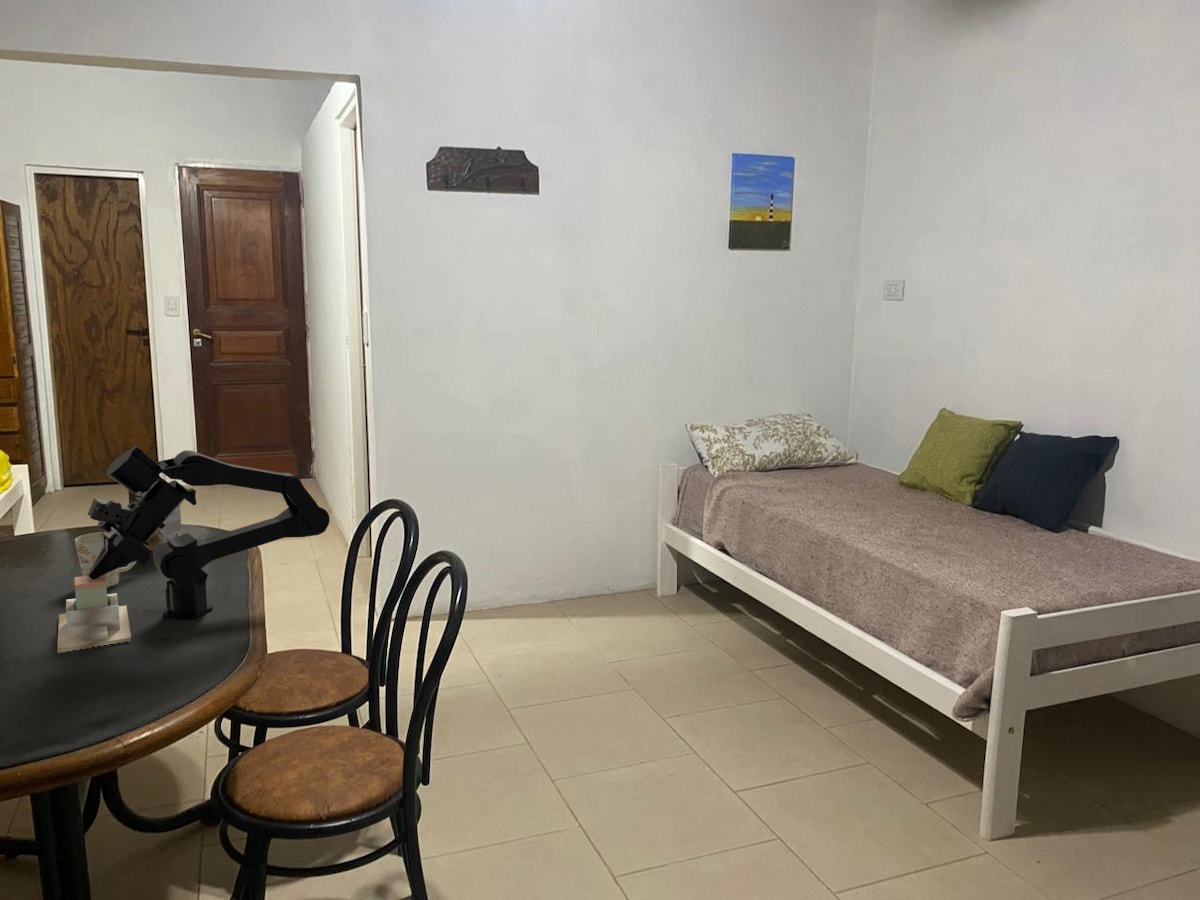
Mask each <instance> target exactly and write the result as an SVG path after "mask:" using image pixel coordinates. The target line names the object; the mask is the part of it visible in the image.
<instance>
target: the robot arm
mask: <svg viewBox="0 0 1200 900" xmlns="http://www.w3.org/2000/svg"><path fill="white" fill-rule="evenodd" d="M160 474H163V475H165V476H166V477H167V478H168V479H170V480H171V481H169V482H168V481H167V480H165V479H164V478H162V477H161V476H160ZM106 475H107V476H108V477H110V478H111V479H113V480H114V481H115V482H117V483H118V484H120V485H121V486H122V487H124V488H125V489H127V491H128V490H129V491H131V492H132V493H137V492H139V491H140V492H141V493H144V492H146V491H147V490H148V489H149V490H148V492H147V493H146V494H145V495H144V496H143V497H142V498H141V499H140V500H139V501H138V502H137V503H136V502H135V501H134V502H131V503H130V504H129V503H128V505H122V504H121V502H115V501H113V500H106V499H102V498H98V497H94V498H93V499H92V503H91V506H90V507H89V510H88V512H87V515H88V516H89V518H90V519H91V520H94V521H98V523H97V525H98V526H99V528H100V529H103V530H105V531H106V532H109V533H108V534H107V535H104V534H103V533H102V534H101V536H102V542H103V547H102V549H101V551H100V553H99V555H98V557H97V559H96V561H95V563H94V565H93V566H92V568H91V570H90V572H89V574H88V576H89V577H90V578H91V579H96V578H98V577H100V576H102V575H104V574H106V573H109V572H111V571H113V570H115V569H117V568H119V567H120V568H122V567H125V566H126V565H129V563H131V562H135V561H137V562H138V563H139V564H140V565H141V566H143V567H147V566H148V565H149V564H150V562H152V561H153V564H154V566H155V567H156V569H158V570H159V572H161V574H162V575H163V576H164V577H166V578H167V579H169V580H167V581H166V587H165V603H166V609H167V610H165V611H163V612H162V613H161V614H162V615H161V616H163V617H170V618H178V619H185V620H193V619H195V618H196V617H198V616H200V615H203V614H205V613H207V612H208V611H211V610H214V606H213V605H209V604H208V600H207V578H208V576H209V574H208V573H207V572H206V571H205V570H204V569H203V568H205V567H206V566H207V565H209V564H210V563H211V562H212V561H215V560H219V559H222V558H226V557H229V556H231V555H232V556H233V555H235V554H238V553H241V552H244V551H247V550H250V549H253V548H257V547H259V546H263V545H265V544H269V543H272V542H275V541H278V540H281V539H285V538H286V539H287V538H307V537H313V536H319V535H321V534H323V533H325V532H326V531H327V528H328V527H329V524H330V514H329V512H328V511H327V510H326V509H324V508H323V507H321V506H319V505H318V504H317V502H316V500H315V499H314V497H312V495H311V494H310V493H309V492H308V490H307V489H306V488H305V486H304V485H303V483H302V481H301V479H300V478H299V477H298V476H296V475H295V474H292V473H290V472H277V471H273V470H267V469H260V468H254V467H249V466H244V465H240V464H239V465H238V464H234V463H233V464H232V463H227V462H224V461H221V460H218V459H216V458H213V457H211V456H208V455H205V454H202V453H200V452H198V451H197V452H196V451H195V450H194V451H193V450H187V449H186V450H183V451H181V452H179V453H178V454H176V456H175V457H172V458H168V459H164V460H160V461H155V460H153V459H152V458H151V457H149V456H148V455H146V453H145V452H144V451H143V450H142V449H140V448H139V447H138V446H136V445H133V446H132V447H131V448H130V450H129V449H128V450H127V451H125V452H124V453H123V454H121V455H120V456H117V457H116V458H115V459H114V460H113V462H112V463H111V464H110V465H109V467H108V469H107V471H106ZM177 480H178V481H177ZM179 480H180V481H182V482H183V483H184V484H186V485H188V486H191V487H213V486H220V485H221V486H223V485H226V486H227V485H229V486H234V487H241V488H246V489H252V490H259V491H265V492H270V493H271V492H272V493H279V494H281V497H283V500H284V503H285V505H286V506H287V507H288V508H285V509H284V510H283V511H282V512H280V513H279V514H278V515H277V516H274V517H272V518H269V519H265V520H262V521H259V522H254V523H252V524H249V525H245V526H242V527H238V528H236V529H232V530H229V531H226V532H223V533H219V534H215V535H213V536H209V537H206V538H199V539H197V538H196V537H195V536H193V535H192V534H191V533H190V532H187V533H183V534H182V535H181V536H179V537H176V538H167V539H166V540H167V541H168V542H165V543H163V544H161V545H159V546H158V547H157V549H156V551H155V552H154V556H153V551H152V550H151V549H150V548H149V547H148V546H147V545H148V544H149V542H148V541H147V540H148V539H149V538H150V537H151V536H152V535H153V533H154V532H155V531H156V530H157V529H158V528H160V529H163V528H164V527H165V524H164V521H165V520H166V519H167V518H168V517H169V516H170V515H171V514H172V513H173V512H174V510H175V509H176V508H177V507H178V506H179V505H180V506H181V504H182V503H183V501H185V500H186V501H187V502H188V503H190V504H191V505H193V506H196V505H197V499H196V493H197V491H196V489H194V488H191V487H190V488H186V487H185V486H183V484H181V483H180V482H179ZM155 482H156V483H155ZM154 483H155V484H154ZM153 484H154V485H153ZM137 562H136V563H137Z"/></svg>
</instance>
